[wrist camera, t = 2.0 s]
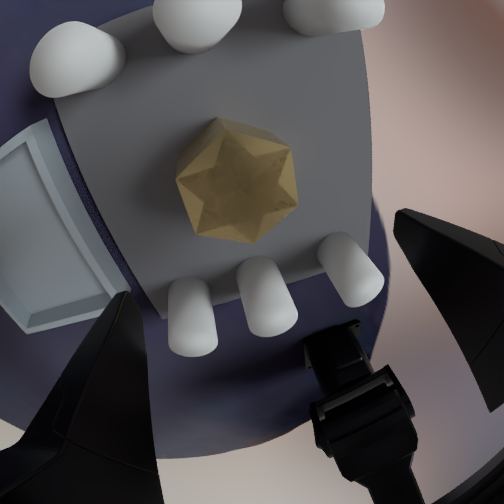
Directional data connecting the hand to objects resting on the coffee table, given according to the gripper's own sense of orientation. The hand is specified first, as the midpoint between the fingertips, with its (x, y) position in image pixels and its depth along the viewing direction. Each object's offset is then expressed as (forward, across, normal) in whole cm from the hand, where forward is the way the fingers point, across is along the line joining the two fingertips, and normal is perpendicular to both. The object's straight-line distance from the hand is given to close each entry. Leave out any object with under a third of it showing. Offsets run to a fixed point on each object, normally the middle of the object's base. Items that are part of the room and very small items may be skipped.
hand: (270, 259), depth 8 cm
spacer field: (+9, 0, 0) cm, 9 cm away
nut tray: (+9, +14, 0) cm, 17 cm away
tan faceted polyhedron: (+8, 0, 0) cm, 8 cm away
